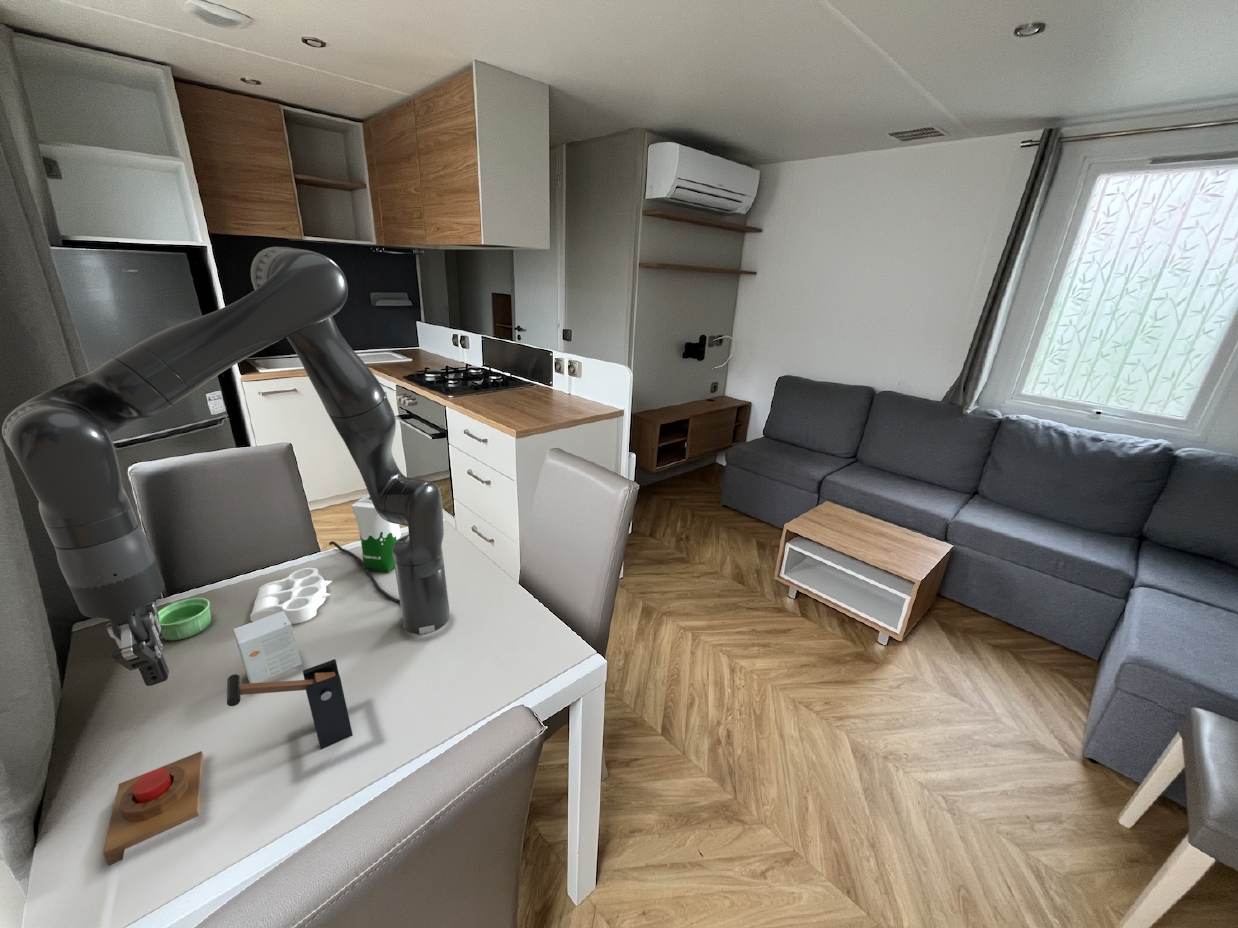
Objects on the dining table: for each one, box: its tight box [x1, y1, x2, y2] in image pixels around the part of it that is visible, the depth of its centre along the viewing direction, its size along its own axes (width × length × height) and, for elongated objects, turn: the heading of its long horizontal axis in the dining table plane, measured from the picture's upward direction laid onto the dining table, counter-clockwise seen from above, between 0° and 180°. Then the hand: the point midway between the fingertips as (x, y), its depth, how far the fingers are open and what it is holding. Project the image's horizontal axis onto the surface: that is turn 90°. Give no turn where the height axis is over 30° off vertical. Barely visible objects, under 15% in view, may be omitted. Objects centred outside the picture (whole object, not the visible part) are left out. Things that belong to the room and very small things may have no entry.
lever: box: [226, 672, 336, 707], centre depth 71 cm, size 13×5×2 cm, turn 125°
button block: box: [102, 750, 204, 866], centre depth 67 cm, size 11×9×4 cm
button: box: [132, 768, 172, 803], centre depth 66 cm, size 4×4×2 cm
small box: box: [232, 611, 303, 683], centre depth 89 cm, size 8×6×10 cm
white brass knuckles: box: [249, 567, 333, 625], centre depth 111 cm, size 3×18×15 cm
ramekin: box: [158, 597, 212, 641], centre depth 101 cm, size 9×9×4 cm
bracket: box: [302, 658, 354, 750], centre depth 76 cm, size 11×9×13 cm
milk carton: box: [350, 494, 402, 573], centre depth 124 cm, size 9×9×20 cm
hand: (158, 679), depth 65 cm, fingers closed
